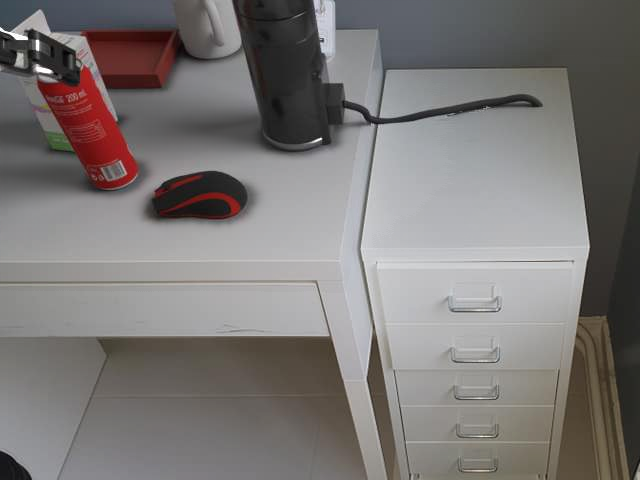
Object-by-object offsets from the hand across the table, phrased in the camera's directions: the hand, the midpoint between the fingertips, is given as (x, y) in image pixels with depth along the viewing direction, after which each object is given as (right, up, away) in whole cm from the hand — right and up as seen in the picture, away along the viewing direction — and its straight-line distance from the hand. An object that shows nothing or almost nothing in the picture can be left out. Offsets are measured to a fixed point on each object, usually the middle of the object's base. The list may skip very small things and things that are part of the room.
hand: (34, 75), depth 75 cm
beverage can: (0, -7, +17) cm, 18 cm away
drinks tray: (-7, +15, +34) cm, 38 cm away
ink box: (-7, +1, +23) cm, 24 cm away
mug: (+5, +18, +37) cm, 42 cm away
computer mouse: (+12, -10, +14) cm, 21 cm away
